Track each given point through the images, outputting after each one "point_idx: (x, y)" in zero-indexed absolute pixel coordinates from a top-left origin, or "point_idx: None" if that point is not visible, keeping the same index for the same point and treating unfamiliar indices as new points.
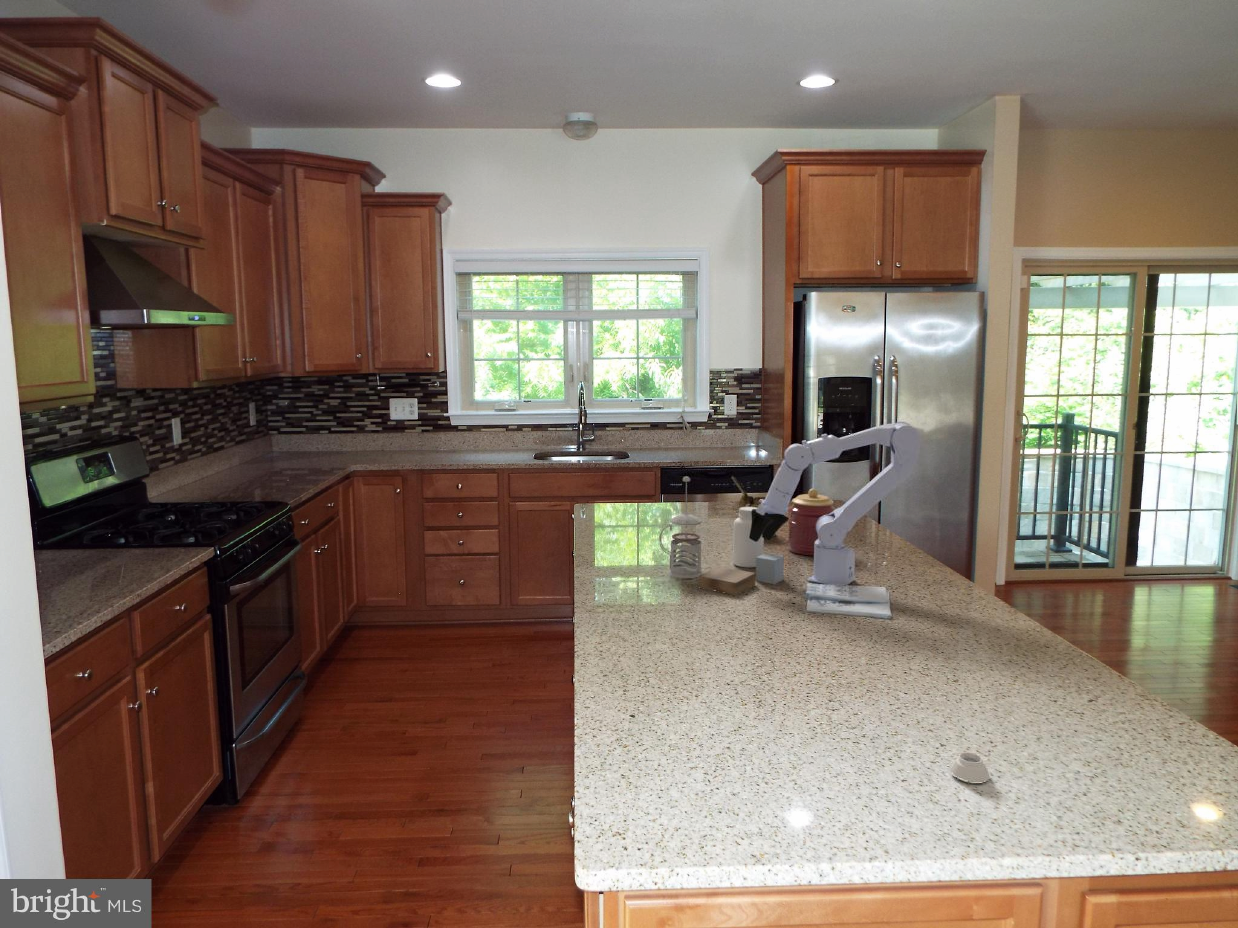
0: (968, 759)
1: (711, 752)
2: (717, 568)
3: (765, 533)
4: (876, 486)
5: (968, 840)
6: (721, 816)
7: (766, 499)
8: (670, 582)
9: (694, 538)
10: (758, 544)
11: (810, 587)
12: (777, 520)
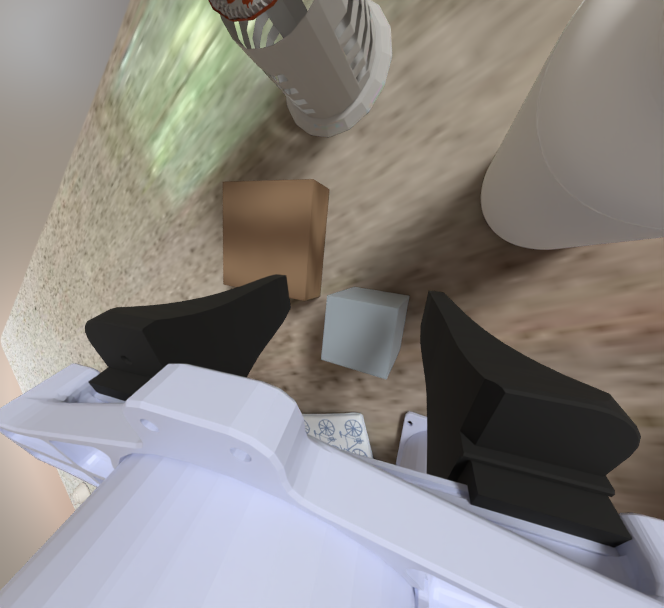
0: (82, 496)
1: (41, 365)
2: (295, 186)
3: (427, 314)
4: None
5: (61, 474)
6: (27, 381)
7: (53, 538)
8: (249, 103)
9: (236, 6)
10: (542, 234)
11: (318, 424)
12: (436, 435)
